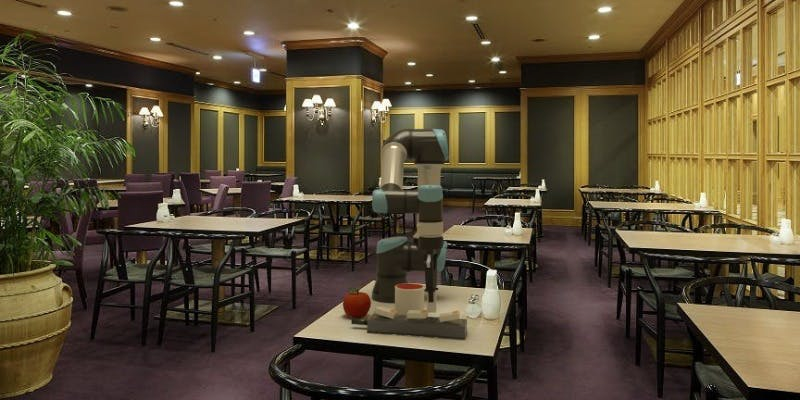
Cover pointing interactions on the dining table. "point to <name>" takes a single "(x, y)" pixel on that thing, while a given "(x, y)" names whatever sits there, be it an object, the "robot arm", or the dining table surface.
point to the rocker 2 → (417, 314)
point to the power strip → (415, 326)
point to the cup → (408, 298)
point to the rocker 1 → (385, 312)
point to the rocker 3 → (449, 316)
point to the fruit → (356, 304)
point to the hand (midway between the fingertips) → (431, 311)
